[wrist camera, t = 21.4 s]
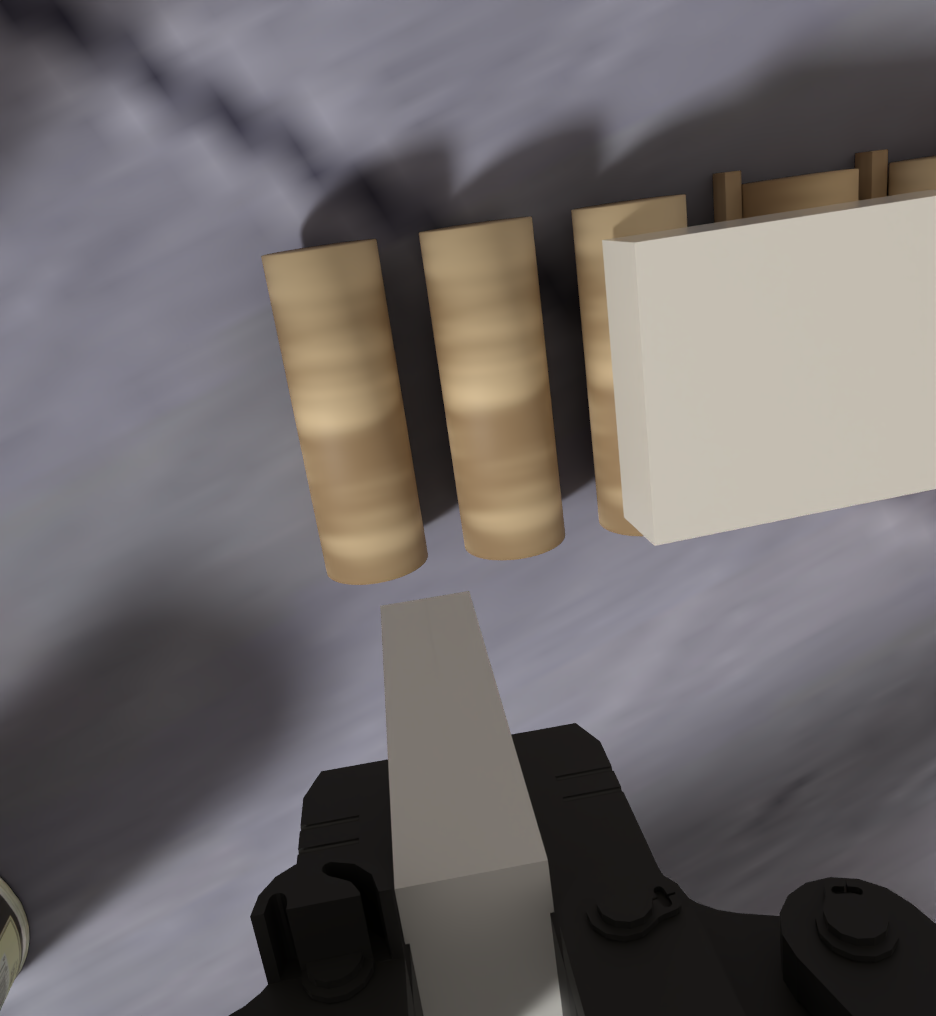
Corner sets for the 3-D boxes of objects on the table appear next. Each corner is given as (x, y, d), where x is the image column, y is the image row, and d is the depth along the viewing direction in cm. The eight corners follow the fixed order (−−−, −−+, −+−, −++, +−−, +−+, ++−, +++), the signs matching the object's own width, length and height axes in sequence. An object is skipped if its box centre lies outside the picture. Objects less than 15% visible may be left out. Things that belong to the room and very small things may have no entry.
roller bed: (949, 459, 38) (1014, 487, 34) (331, 563, 36) (327, 604, 33) (967, 136, 33) (1043, 128, 30) (264, 238, 32) (251, 243, 28)
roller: (751, 472, 38) (851, 469, 37) (748, 505, 35) (858, 503, 33) (743, 182, 34) (854, 167, 33) (738, 186, 31) (863, 169, 29)
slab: (916, 459, 34) (971, 481, 31) (623, 517, 33) (654, 545, 30) (927, 190, 31) (990, 187, 28) (601, 239, 29) (634, 242, 26)
